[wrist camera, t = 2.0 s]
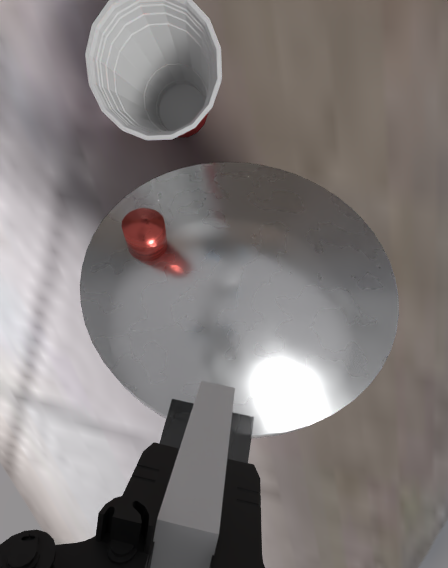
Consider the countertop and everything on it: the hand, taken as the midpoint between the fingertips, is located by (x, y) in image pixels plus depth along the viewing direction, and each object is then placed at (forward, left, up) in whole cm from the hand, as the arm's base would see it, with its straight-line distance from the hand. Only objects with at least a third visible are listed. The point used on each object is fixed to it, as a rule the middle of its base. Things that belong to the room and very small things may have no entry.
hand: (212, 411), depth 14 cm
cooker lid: (-3, 0, -7) cm, 7 cm away
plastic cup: (-18, -10, -27) cm, 34 cm away
